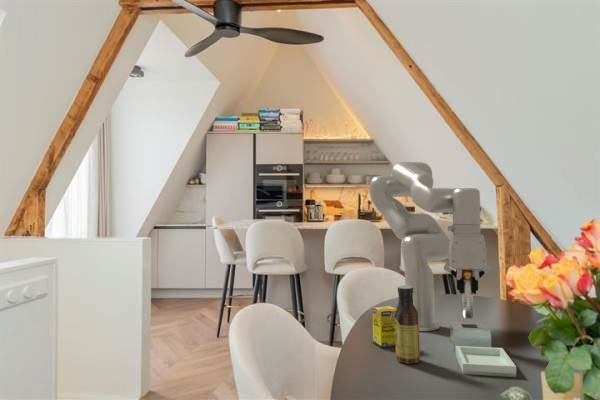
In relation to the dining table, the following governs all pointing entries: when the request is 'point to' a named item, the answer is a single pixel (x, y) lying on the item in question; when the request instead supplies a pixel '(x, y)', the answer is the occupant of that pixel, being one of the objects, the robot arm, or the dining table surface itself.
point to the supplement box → (384, 326)
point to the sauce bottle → (407, 327)
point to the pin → (467, 294)
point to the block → (470, 334)
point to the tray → (485, 361)
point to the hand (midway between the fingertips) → (467, 292)
